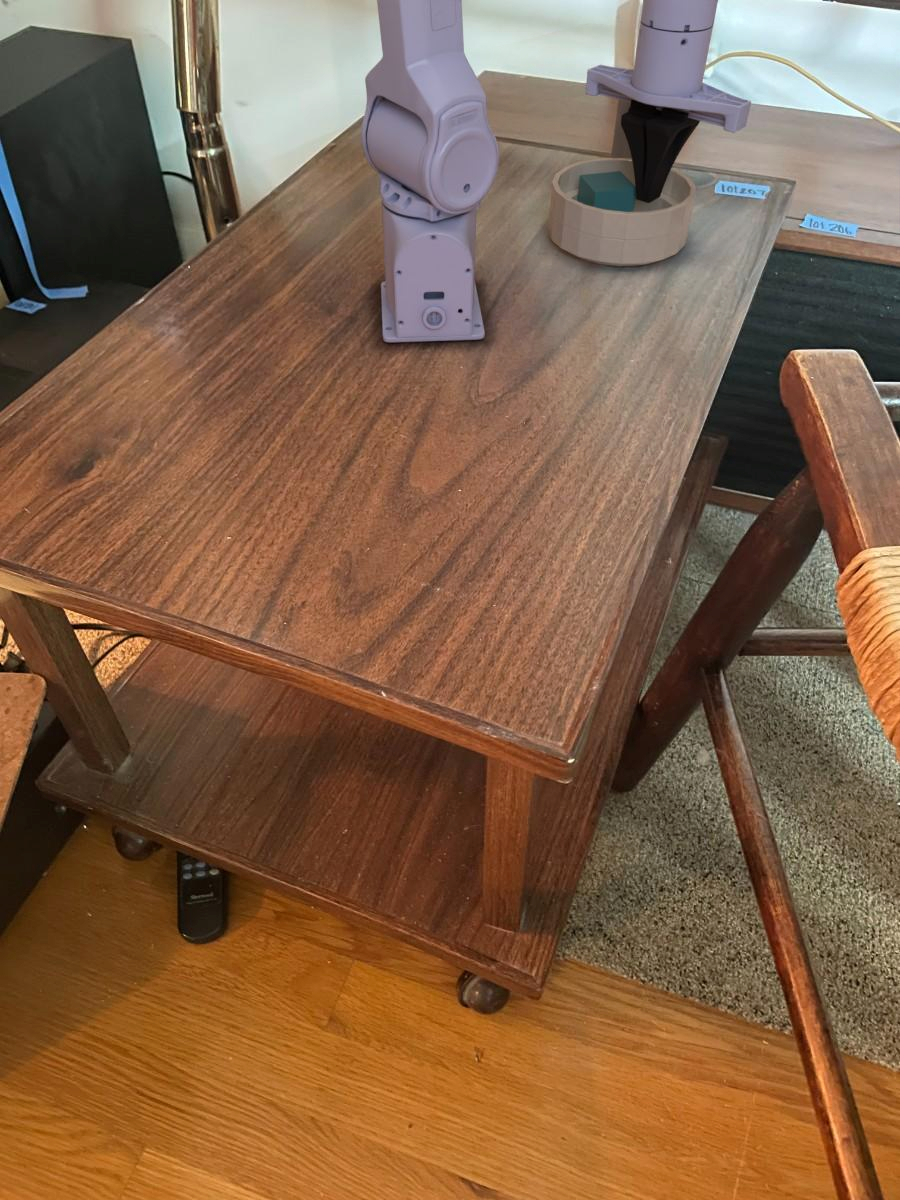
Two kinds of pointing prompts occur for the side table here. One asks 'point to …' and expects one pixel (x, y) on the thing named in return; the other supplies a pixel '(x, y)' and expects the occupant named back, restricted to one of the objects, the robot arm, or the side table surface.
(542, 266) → the side table surface
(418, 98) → the robot arm
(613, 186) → the block
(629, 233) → the bowl
